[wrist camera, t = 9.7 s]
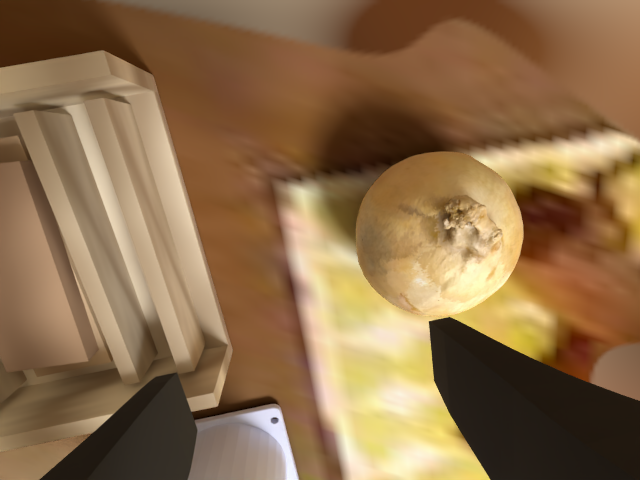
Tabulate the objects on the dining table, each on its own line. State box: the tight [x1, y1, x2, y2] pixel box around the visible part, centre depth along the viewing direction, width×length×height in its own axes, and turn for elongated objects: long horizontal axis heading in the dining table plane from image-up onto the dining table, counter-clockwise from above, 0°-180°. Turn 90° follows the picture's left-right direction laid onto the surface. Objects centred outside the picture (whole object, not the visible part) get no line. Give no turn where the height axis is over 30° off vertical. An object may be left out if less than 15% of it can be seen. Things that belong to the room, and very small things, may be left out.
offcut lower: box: [0, 135, 113, 377], centre depth 17 cm, size 4×12×1 cm, turn 10°
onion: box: [356, 152, 523, 316], centre depth 16 cm, size 8×8×7 cm
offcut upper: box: [0, 160, 99, 373], centre depth 16 cm, size 4×10×1 cm, turn 6°
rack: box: [0, 50, 233, 452], centre depth 16 cm, size 16×16×5 cm
